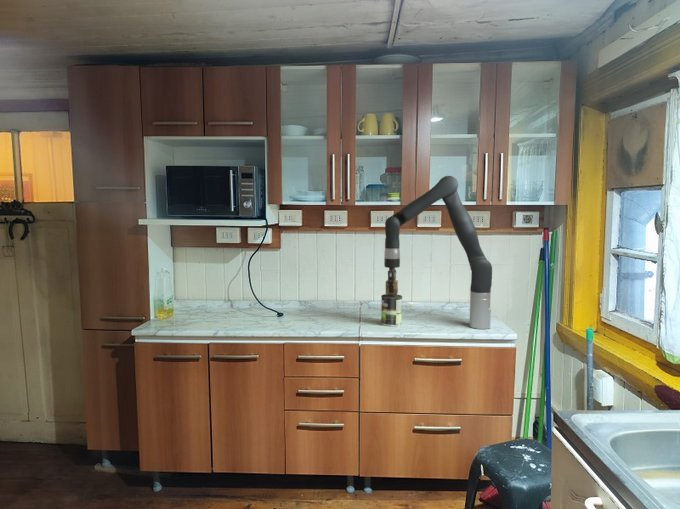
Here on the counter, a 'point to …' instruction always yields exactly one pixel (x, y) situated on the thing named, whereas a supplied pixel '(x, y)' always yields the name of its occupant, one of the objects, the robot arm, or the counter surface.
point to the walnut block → (394, 287)
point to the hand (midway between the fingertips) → (391, 291)
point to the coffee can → (391, 310)
